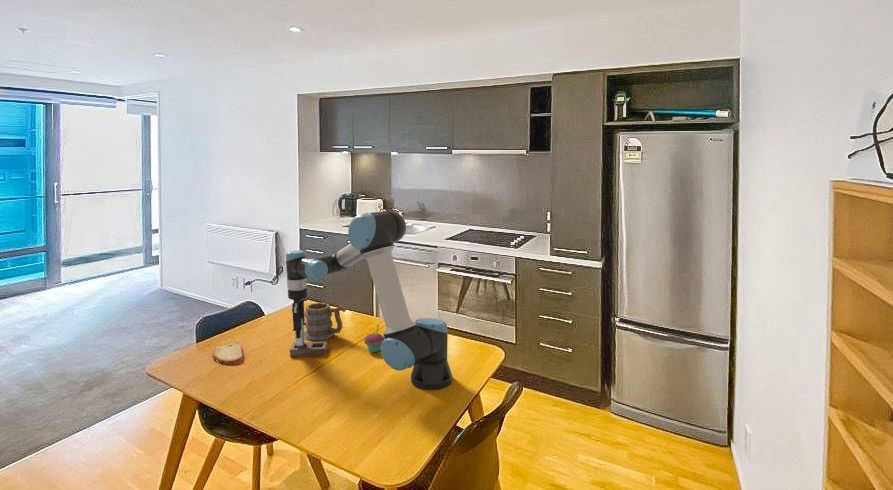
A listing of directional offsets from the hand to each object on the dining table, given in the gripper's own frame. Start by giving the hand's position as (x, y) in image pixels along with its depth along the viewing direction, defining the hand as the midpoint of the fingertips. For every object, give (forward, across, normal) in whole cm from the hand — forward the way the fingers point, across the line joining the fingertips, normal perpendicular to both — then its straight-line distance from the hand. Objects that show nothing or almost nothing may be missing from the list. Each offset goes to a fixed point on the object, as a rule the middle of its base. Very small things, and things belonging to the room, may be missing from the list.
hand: (300, 342), depth 207 cm
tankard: (+5, +18, -8) cm, 21 cm away
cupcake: (+5, 0, -30) cm, 31 cm away
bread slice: (+5, 0, +28) cm, 28 cm away
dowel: (+4, 0, 0) cm, 4 cm away
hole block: (+4, 0, -4) cm, 6 cm away
